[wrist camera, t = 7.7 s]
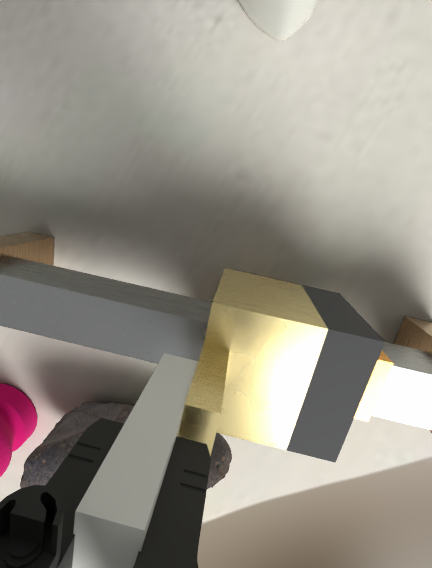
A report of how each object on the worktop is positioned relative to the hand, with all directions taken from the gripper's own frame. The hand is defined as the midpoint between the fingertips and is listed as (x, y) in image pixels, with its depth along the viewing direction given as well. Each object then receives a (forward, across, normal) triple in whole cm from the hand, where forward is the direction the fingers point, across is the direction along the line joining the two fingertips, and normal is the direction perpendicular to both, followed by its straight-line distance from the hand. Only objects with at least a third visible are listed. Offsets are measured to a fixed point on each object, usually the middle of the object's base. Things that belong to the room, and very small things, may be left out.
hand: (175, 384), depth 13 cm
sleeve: (+8, +3, 0) cm, 9 cm away
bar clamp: (+10, +1, 0) cm, 10 cm away
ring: (+8, +7, 0) cm, 10 cm away
